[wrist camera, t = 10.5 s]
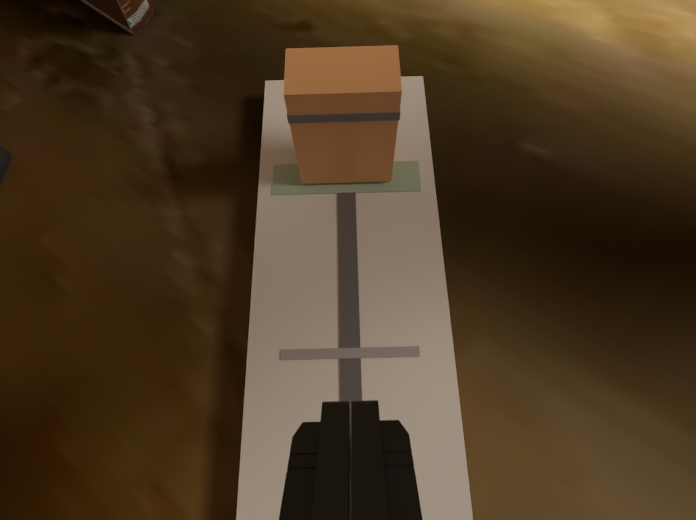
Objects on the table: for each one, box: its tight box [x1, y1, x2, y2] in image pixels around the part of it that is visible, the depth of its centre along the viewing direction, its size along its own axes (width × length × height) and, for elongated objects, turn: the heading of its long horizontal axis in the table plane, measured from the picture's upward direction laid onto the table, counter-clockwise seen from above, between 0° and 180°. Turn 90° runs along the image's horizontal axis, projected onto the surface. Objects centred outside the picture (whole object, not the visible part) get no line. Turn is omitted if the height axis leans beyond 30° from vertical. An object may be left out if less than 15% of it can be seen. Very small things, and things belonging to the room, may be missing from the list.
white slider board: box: [236, 76, 473, 520], centre depth 30 cm, size 30×12×2 cm, turn 1°
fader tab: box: [284, 45, 402, 184], centre depth 28 cm, size 3×6×8 cm, turn 91°
